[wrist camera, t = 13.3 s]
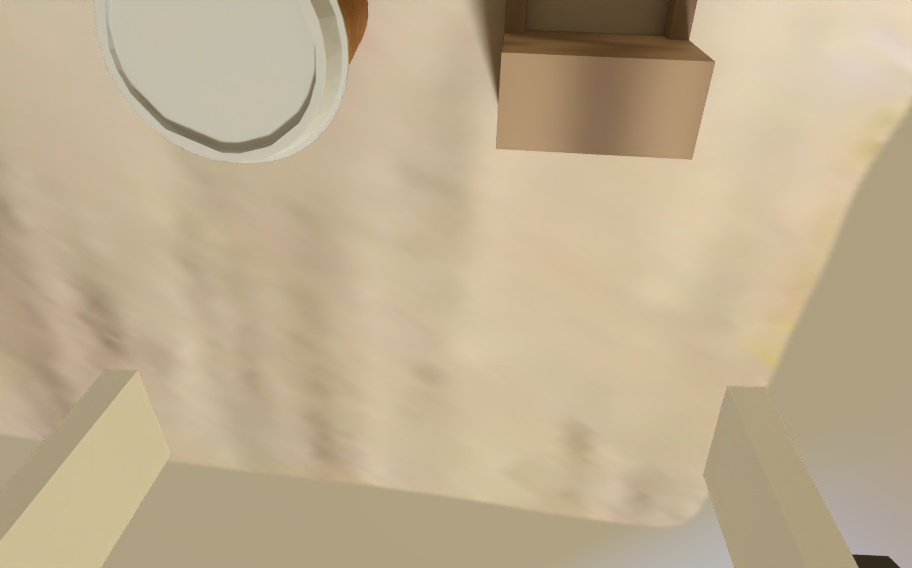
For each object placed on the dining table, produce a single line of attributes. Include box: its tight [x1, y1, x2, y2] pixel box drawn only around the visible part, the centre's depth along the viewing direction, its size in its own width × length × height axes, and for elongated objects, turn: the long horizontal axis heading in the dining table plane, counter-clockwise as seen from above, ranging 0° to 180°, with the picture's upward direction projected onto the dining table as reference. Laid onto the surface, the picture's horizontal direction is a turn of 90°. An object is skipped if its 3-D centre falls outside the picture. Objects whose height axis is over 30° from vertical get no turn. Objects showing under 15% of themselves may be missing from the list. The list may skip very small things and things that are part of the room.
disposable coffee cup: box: [94, 0, 368, 163], centre depth 27 cm, size 10×10×12 cm
